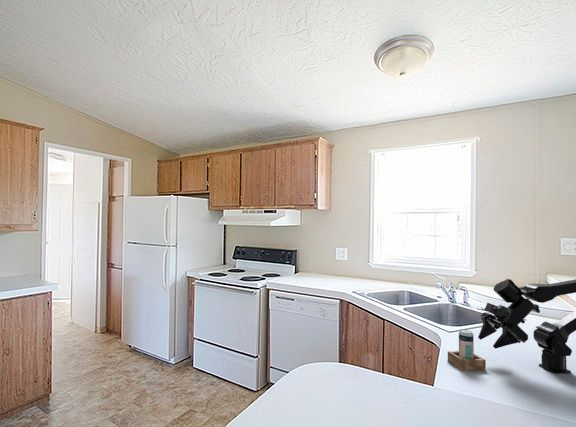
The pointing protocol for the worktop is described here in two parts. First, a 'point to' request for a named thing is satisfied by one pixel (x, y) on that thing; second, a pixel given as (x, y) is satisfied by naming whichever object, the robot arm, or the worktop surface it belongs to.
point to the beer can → (466, 344)
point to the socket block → (466, 362)
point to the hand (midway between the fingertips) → (486, 342)
